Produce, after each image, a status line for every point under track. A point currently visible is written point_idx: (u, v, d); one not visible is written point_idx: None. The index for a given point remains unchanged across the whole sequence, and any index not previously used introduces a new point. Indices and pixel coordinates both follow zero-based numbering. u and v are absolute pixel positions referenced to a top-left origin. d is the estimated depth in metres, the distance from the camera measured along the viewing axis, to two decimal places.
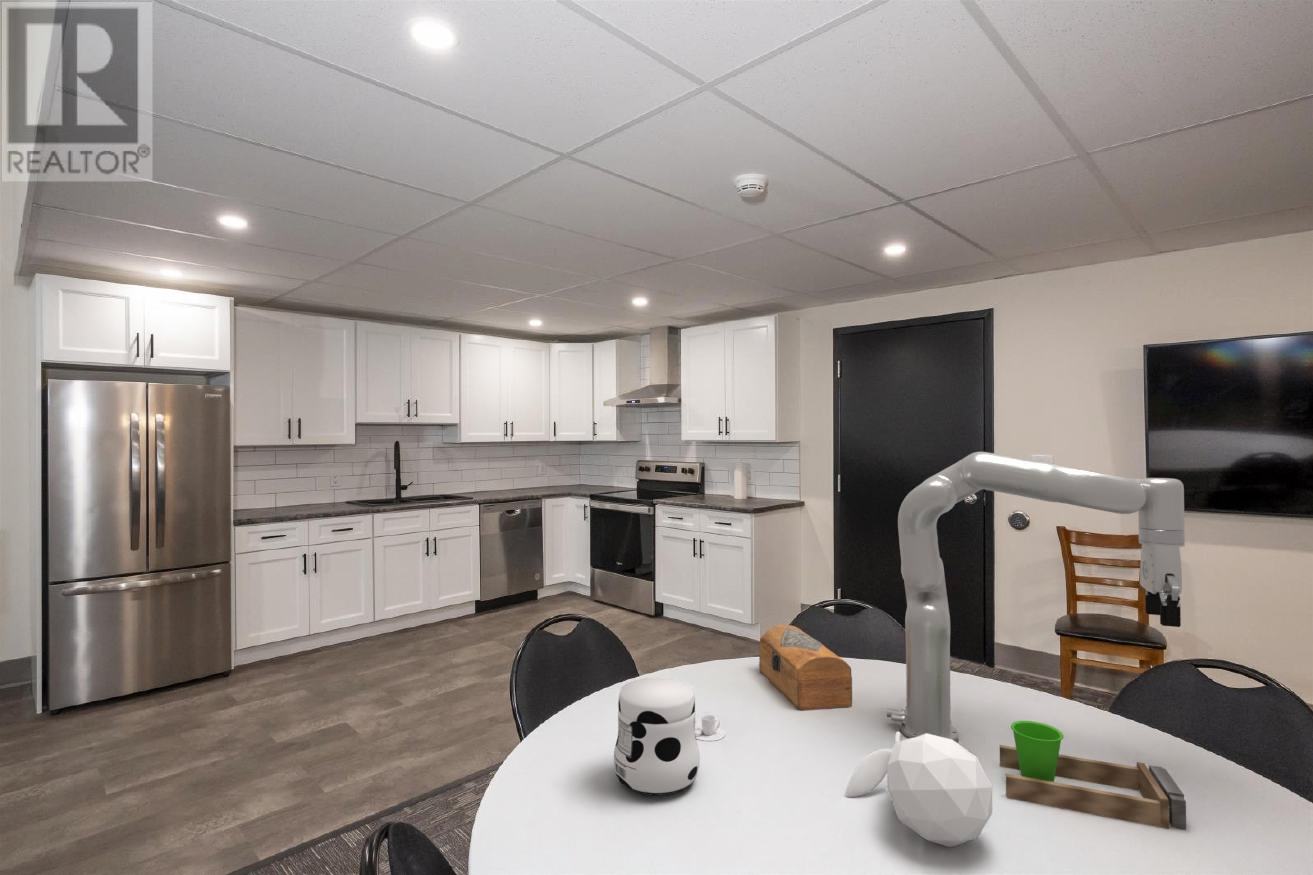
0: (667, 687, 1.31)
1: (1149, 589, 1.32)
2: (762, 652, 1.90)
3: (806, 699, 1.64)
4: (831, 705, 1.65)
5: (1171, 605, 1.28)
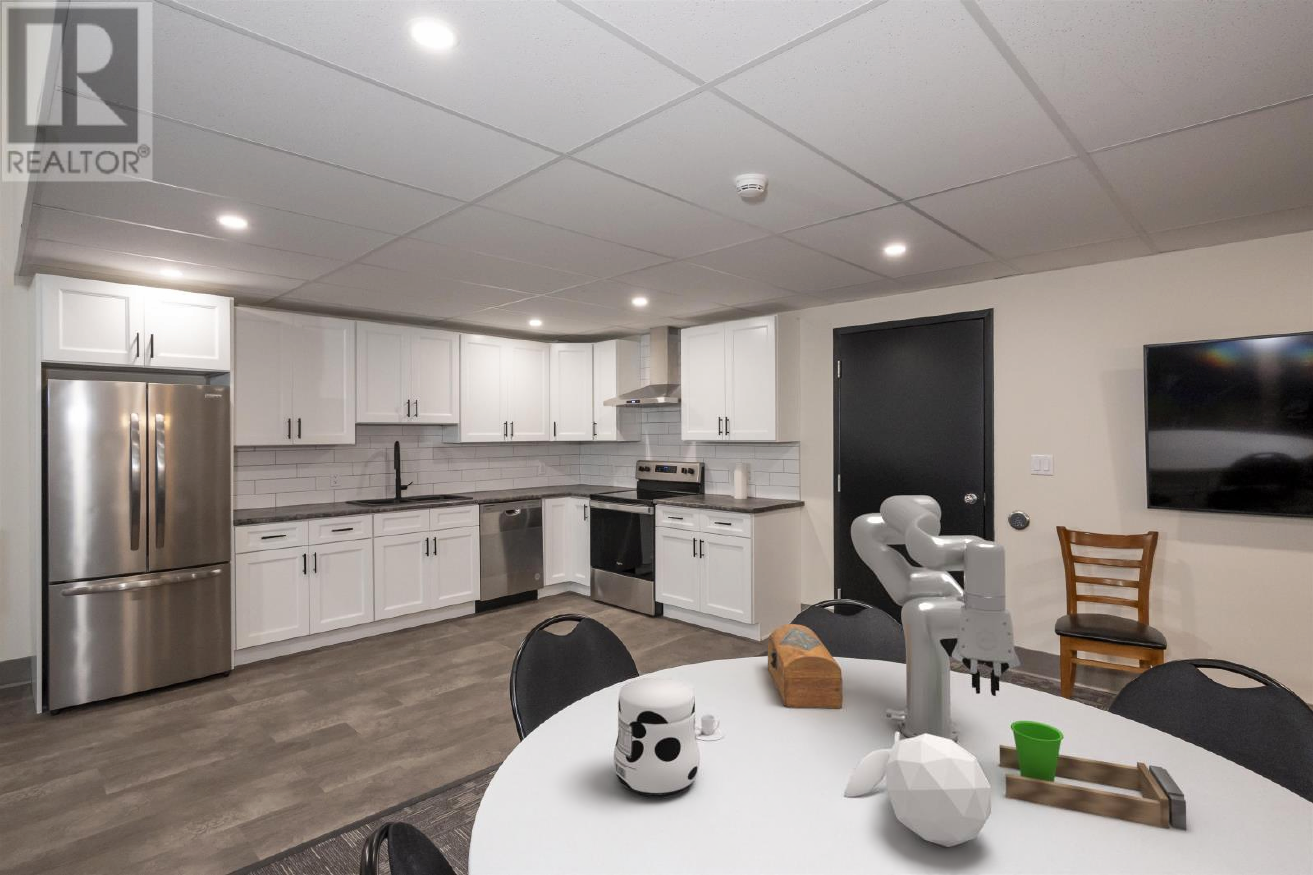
0: (667, 687, 1.31)
1: (1001, 659, 1.28)
2: (769, 650, 1.92)
3: (793, 697, 1.66)
4: (820, 704, 1.65)
5: None
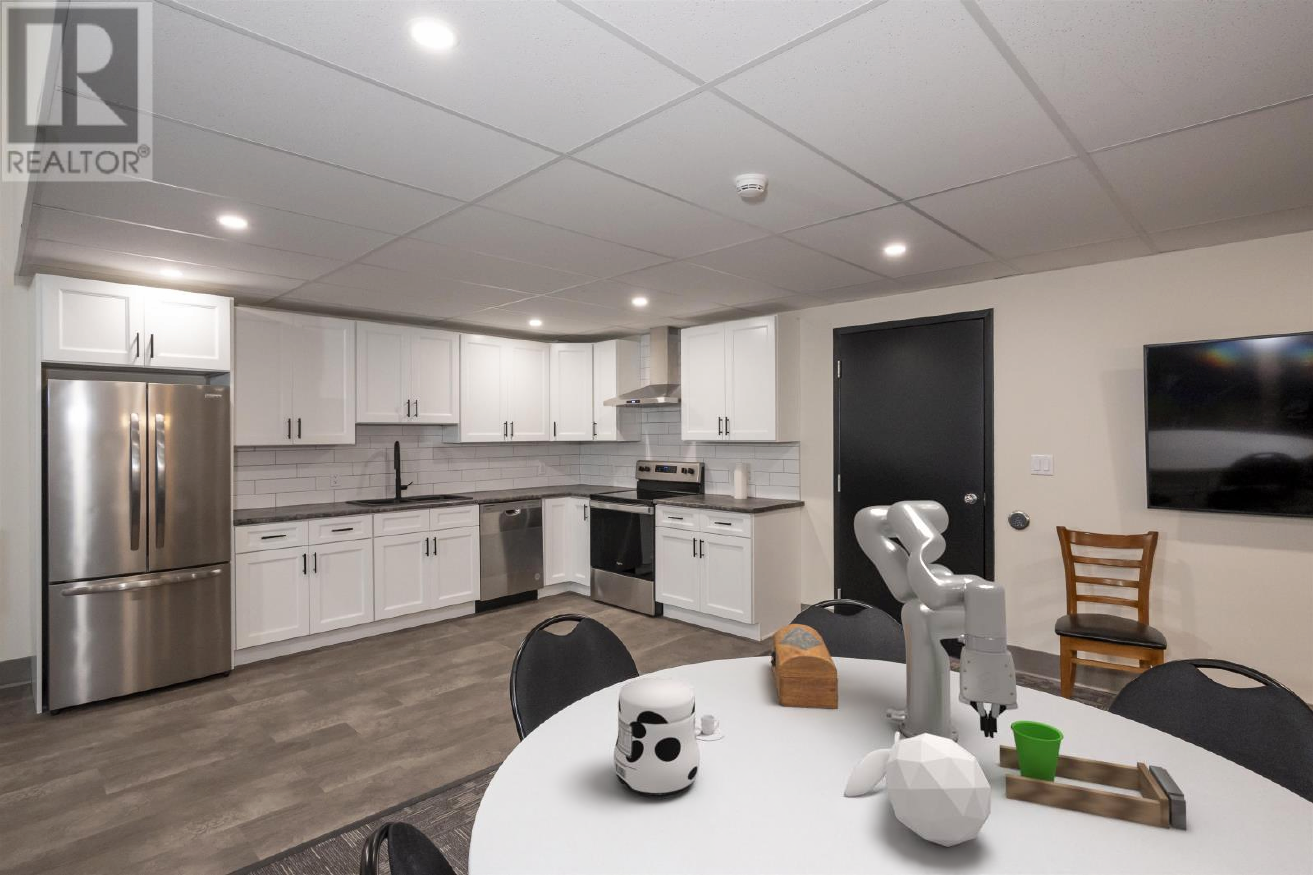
0: (667, 687, 1.31)
1: (1003, 702, 1.27)
2: None
3: (788, 696, 1.66)
4: (815, 704, 1.65)
5: None
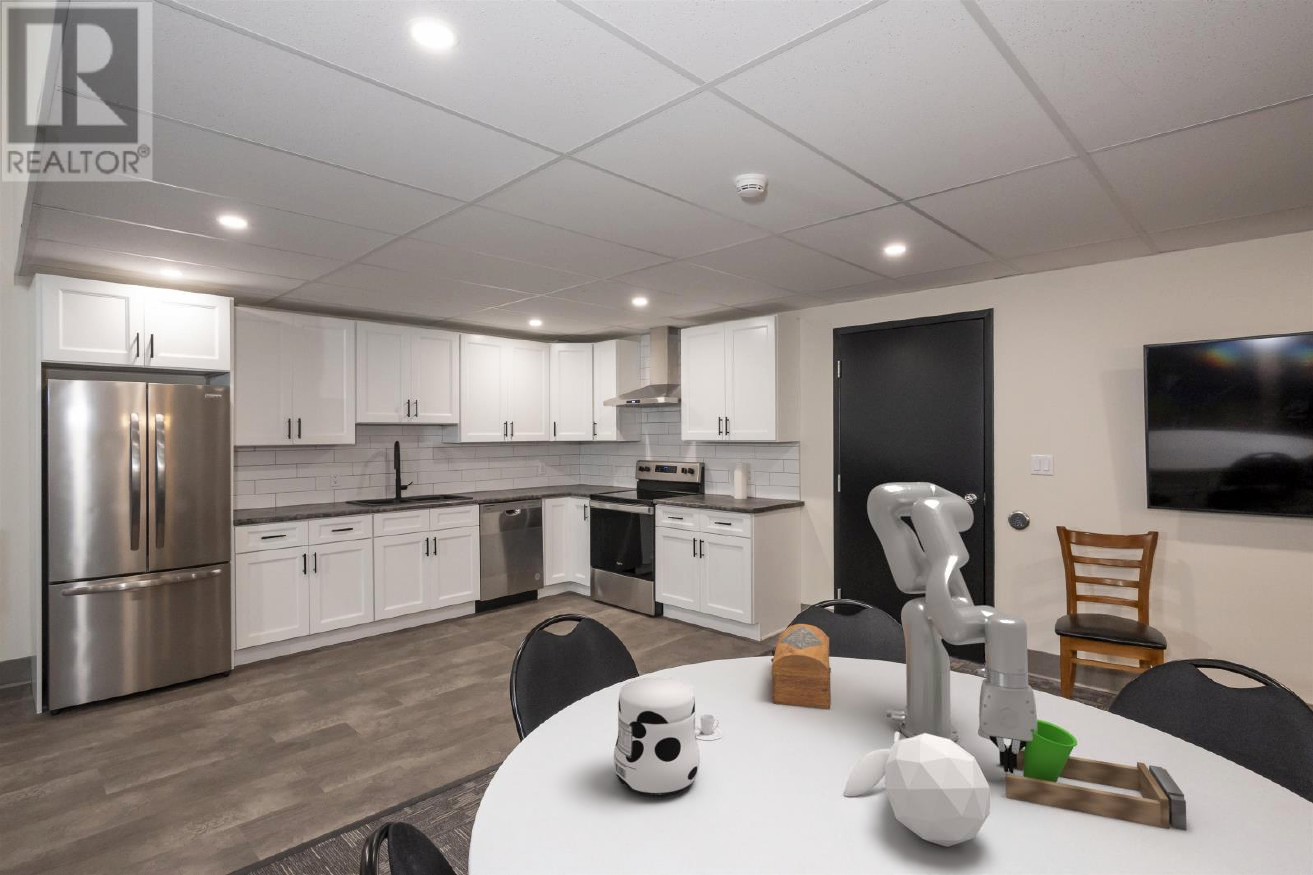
0: (667, 687, 1.31)
1: (1024, 738, 1.25)
2: None
3: (780, 694, 1.68)
4: (807, 703, 1.66)
5: None
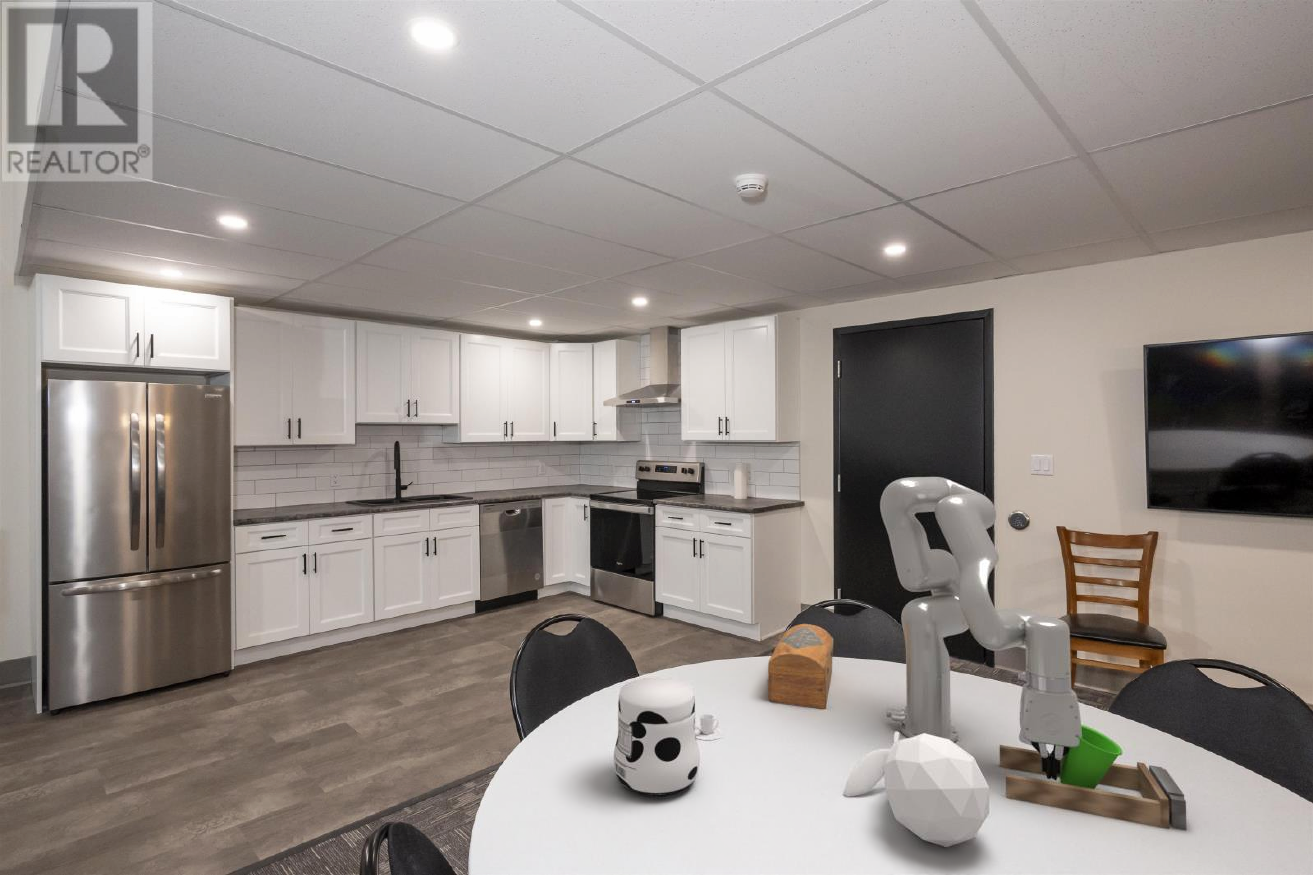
0: (667, 687, 1.31)
1: (1068, 744, 1.22)
2: None
3: (776, 692, 1.69)
4: (803, 703, 1.66)
5: None
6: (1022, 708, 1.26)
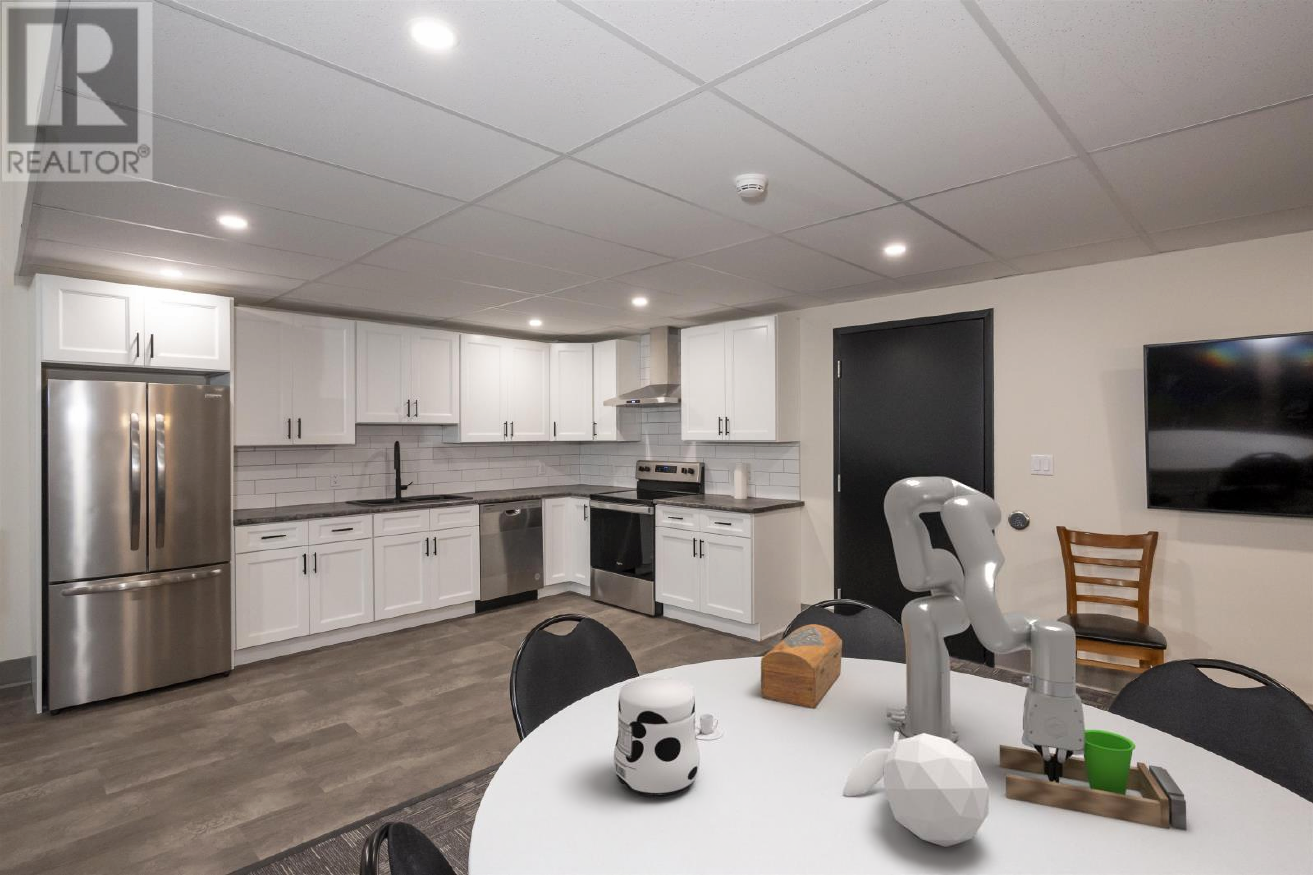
0: (667, 687, 1.31)
1: (1071, 747, 1.23)
2: None
3: (768, 689, 1.71)
4: (793, 701, 1.68)
5: None
6: (1026, 711, 1.26)
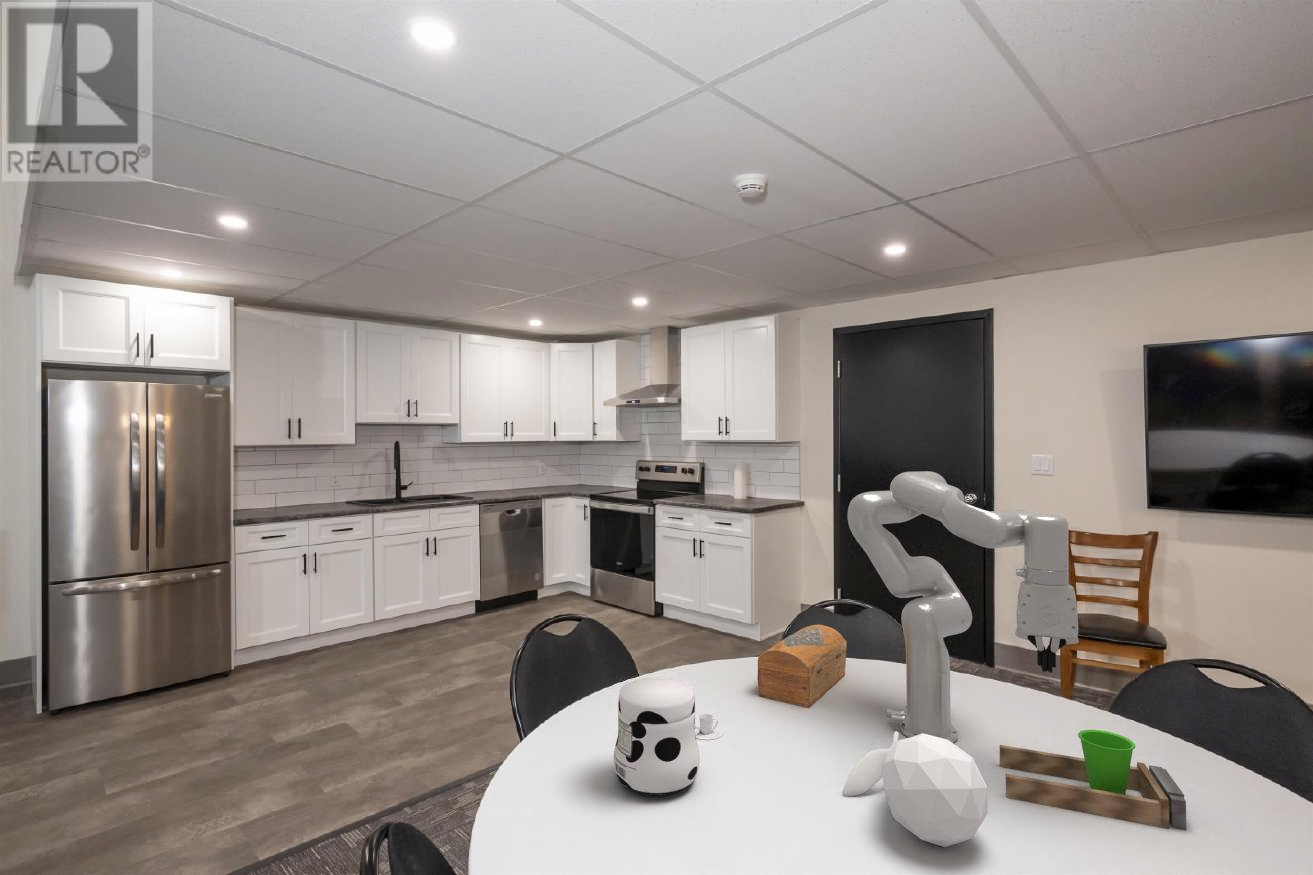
0: (667, 687, 1.31)
1: (1064, 635, 1.24)
2: None
3: (764, 687, 1.72)
4: (789, 700, 1.68)
5: None
6: (1019, 603, 1.27)
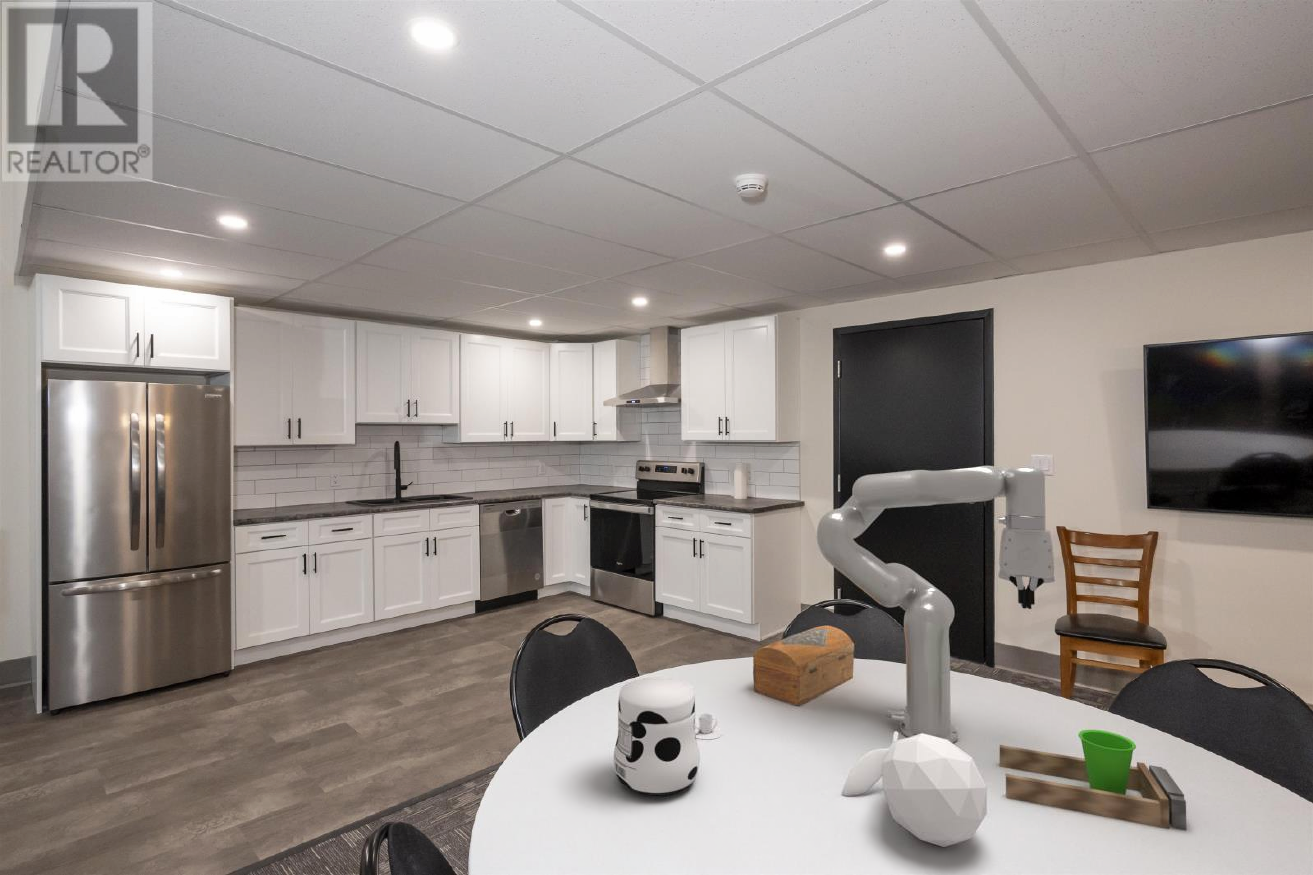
0: (667, 687, 1.31)
1: (1041, 574, 1.37)
2: None
3: (759, 683, 1.75)
4: (781, 697, 1.70)
5: None
6: (1001, 547, 1.41)
